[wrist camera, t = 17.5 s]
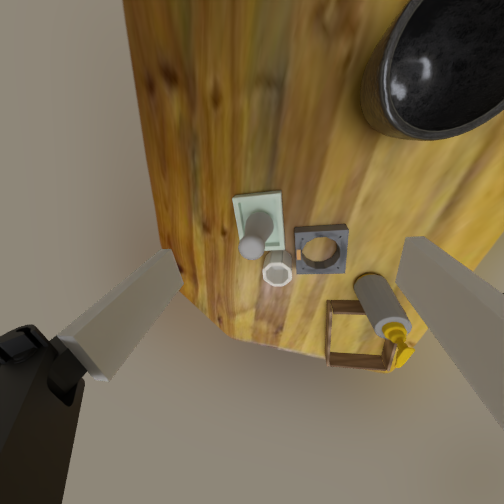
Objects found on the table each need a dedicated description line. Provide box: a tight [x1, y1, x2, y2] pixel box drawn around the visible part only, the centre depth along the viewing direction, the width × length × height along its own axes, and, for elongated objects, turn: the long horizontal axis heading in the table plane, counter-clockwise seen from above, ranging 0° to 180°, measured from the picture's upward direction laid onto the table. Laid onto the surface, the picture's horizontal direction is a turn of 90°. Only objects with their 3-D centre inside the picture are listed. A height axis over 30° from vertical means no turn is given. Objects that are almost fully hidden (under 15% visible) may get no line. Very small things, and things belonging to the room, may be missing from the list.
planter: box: [360, 0, 504, 141], centre depth 24 cm, size 14×14×13 cm
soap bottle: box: [354, 274, 415, 368], centre depth 38 cm, size 7×7×18 cm
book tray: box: [325, 300, 406, 371], centre depth 52 cm, size 21×16×4 cm
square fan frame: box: [295, 224, 349, 274], centre depth 42 cm, size 10×10×3 cm
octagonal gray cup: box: [262, 250, 292, 286], centre depth 45 cm, size 6×6×6 cm
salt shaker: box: [238, 212, 274, 260], centre depth 37 cm, size 6×6×13 cm
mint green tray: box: [232, 190, 285, 251], centre depth 42 cm, size 12×10×2 cm
